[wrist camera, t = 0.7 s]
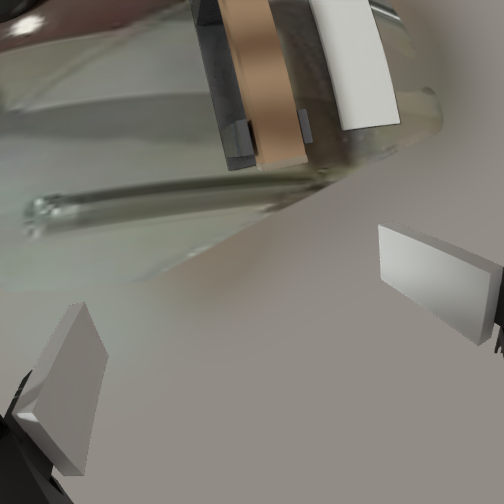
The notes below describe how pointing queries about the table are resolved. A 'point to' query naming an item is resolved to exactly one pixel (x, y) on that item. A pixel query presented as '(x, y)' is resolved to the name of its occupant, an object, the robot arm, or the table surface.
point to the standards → (228, 86)
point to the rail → (263, 83)
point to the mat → (355, 63)
